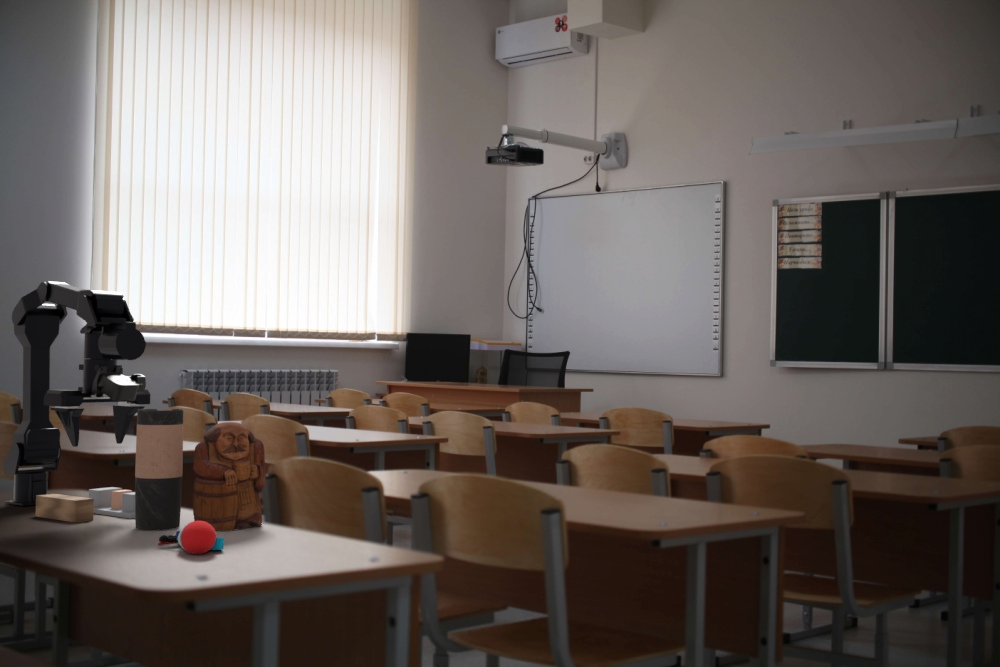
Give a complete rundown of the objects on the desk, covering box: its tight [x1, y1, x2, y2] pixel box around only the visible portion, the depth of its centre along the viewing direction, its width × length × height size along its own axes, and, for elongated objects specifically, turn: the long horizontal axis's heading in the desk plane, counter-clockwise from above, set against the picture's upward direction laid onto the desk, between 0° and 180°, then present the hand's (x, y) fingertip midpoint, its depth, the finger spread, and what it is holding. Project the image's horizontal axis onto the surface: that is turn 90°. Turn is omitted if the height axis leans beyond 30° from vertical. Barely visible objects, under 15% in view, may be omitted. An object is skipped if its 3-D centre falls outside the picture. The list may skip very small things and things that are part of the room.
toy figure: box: [157, 521, 225, 555], centre depth 148 cm, size 8×5×15 cm
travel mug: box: [134, 408, 184, 532], centre depth 168 cm, size 8×8×20 cm
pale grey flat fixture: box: [88, 486, 135, 519], centre depth 186 cm, size 16×9×4 cm, turn 57°
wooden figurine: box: [192, 421, 266, 532], centre depth 169 cm, size 12×6×18 cm, turn 135°
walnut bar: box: [35, 493, 94, 523], centre depth 177 cm, size 12×4×4 cm, turn 57°
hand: (97, 445), depth 180 cm, fingers open, 9 cm apart
